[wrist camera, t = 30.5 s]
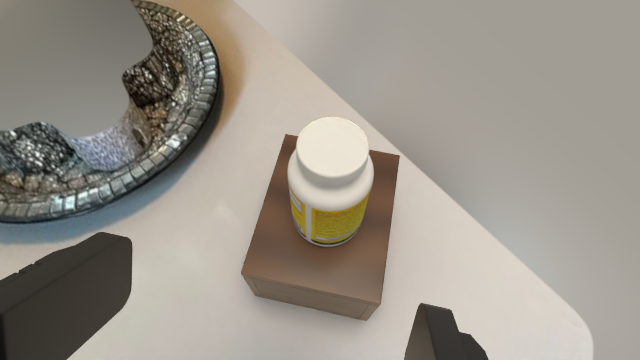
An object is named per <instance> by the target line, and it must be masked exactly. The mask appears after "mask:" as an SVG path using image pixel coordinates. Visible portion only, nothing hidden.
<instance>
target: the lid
mask: <svg viewBox="0 0 640 360" xmlns="http://www.w3.org/2000/svg"><path fill="white" fill-rule="evenodd" d="M297 139H298V136H293V135H288V134H286V135H285V138H284V141H283V144H282V147H281V150H280V153H279V156H278V159H277V162H276V166H275V169H274V172H273V175H272V178H271V181H270V184H269V187H268V190H267V194H266V197H265V200H264V203H263V206H262V209H261V212H260V215H259V218H258V222H257V225H256V228H255V231H254V234H253V237H252V240H251V243H250V246H249V250H248V253H247V256H246V259H245V262H244V265H243V268H242V271H241V274H242V276H246V277H251V278H255V279H260V280H264V281H268V282H273V283H277V284H282V285H286V286H291V287H295V288H300V289H304V290H309V291H313V292H318V293H322V294H327V295H331V296H336V297H340V298H345V299H349V300H354V301H358V302H363V303H367V304H371V305H376V306H379V305H380V304H381V297H382V289H383V281H384V273H385V266H386V258H387V250H388V242H389V234H390V227H391V219H392V211H393V203H394V195H395V188H396V180H397V172H398V164H399V155H394V154H389V153H384V152H378V151H373V150H369V156H370V158H371V160H372V163H373V168H374V177H373V183H372V187H371V191H370V194H369V198H368V201H367V205H366V208H365V212H364V216H363V219H362V222H361V225H360V227H359V229H358V231H357V232H356V234H355V235H354V236H353V237H352V238H351V239H350V240H348V241H347V242H345V243H343V244H340V245H337V246H333V247H323V246H318V245H315V244H313V243H310V242H309V241H307V240H306V239H305V238H303V237H302V236H301V234H300V233H299V232H298V230H297V229H296V227H295V224H294V221H293V216H292V209H291V201H290V192H289V184H288V175H287V170H288V163H289V160H290V157H291V155H292V154H293V152H294V150H295V149H296V143H297Z"/></svg>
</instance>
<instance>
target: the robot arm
mask: <svg viewBox="0 0 640 360" xmlns="http://www.w3.org/2000/svg"><path fill="white" fill-rule="evenodd" d="M131 285H132V242H131V240H130V239H129V238H127V237H123V236H119V235H114V234H110V233H105V232H99V233H97V234H95V235H93V236H91V237H89V238H88V239H86V240H84V241H82V242H80V243H79V244H77V245H74V246H71V247H68V248H65V249H61V250H58V251H55V252H52V253H50V254H49V255H47V256H45V257H43V258H41V259H39V260H38V261H36V262H35V263H34V264H30V265H28V266H26V267H25V268H23V269H21V270H19V272H18V273H13V274H12V275H10V276H8V277H6V278H4V279H2V280H0V360H67V359H68V358H69V357H70V356H71V355H72V354H73V353H74V352H75V351H76V350H78V349H79V348H80V347H81V346H82V345H83V344H84V343H85V342H86V341H87V340H89V339H90V338H91V337H92V336H93V335H94V334H95V333H96V332H97V331H98V330H99V329H101V328H102V327H103V326H104V325H105V324H106V323H107V322H108V321H109V320H110V319H111V318H113V317H114V316H115V315H116V314H117V313H118V312H119V311H120V310H121V309H122V308H123V307H124V305H125V304H126V302H127V300H128V298H129V295H130V292H131ZM404 360H488V358H487V355H486V353H485V351H484V350H483V349H482V347H481V346H480V345H479V344H478V343H477V342H476V341H475V339H474V338H473V337H472V336H471V335H470V334H466V333H461V332H459V330H458V327H457V325H456V322H455V319H454V316H453V313H452V311H451V310H450V309H446V308H442V307H437V306H433V305H428V304H424V303H421V304H420V305H419V307H418V309H417V312H416V316H415V320H414V323H413V327H412V330H411V334H410V338H409V341H408V345H407V348H406V352H405V357H404Z"/></svg>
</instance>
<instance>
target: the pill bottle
mask: <svg viewBox="0 0 640 360" xmlns="http://www.w3.org/2000/svg"><path fill="white" fill-rule="evenodd" d="M287 175H288V184H289V192H290V201H291V209H292V216H293V221H294V224H295V227H296V229H297V230H298V232H299V233H300V234H301V236H302V237H303V238H305V239H306V240H307V241H309V242H310V243H313V244H315V245H318V246H323V247H333V246H337V245H340V244H343V243H345V242H347V241H348V240H350V239H351V238H352V237H353V236H354V235H355V234H356V232H357V231H358V229H359V227H360V225H361V222H362V219H363V216H364V212H365V208H366V205H367V201H368V198H369V194H370V191H371V187H372V183H373V177H374V168H373V163H372V160H371V158H370V156H369V142H368V139H367V137H366V135H365V133H364V132H363V131H362V130H361V128H360V127H358V126H357V125H356V124H354V123H353V122H351V121H349V120H346V119H343V118H338V117H324V118H320V119H317V120H315V121H313V122H311V123H309V124H308V125H307V126H306V127H304V129H303V130H302V131H301V132H300V134H299V136H298V139H297V143H296V149H295V150H294V152H293V154H292V155H291V157H290V160H289V163H288V170H287Z"/></svg>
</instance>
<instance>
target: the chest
mask: <svg viewBox="0 0 640 360" xmlns="http://www.w3.org/2000/svg"><path fill="white" fill-rule="evenodd" d="M243 277H244V279H245V280H246V282H247V283H248V285H249V287H250V288H251V290H252V291H253V293H254V294H255V296H259V297H264V298H268V299H273V300H277V301H281V302H286V303H290V304H295V305H299V306H303V307H308V308H312V309H317V310H321V311H325V312H330V313H334V314H339V315H343V316H347V317H352V318H356V319H361V320H365V321H366V320H367V319H368V318H369V317H370V316H371V315H372V314H373V312H374V311H375V310H376V309H377V308H378V306H376V305H371V304H367V303H363V302H358V301H354V300H349V299H345V298H340V297H336V296H331V295H327V294H322V293H318V292H313V291H309V290H304V289H300V288H295V287H291V286H286V285H282V284H277V283H273V282H268V281H264V280H260V279H255V278H251V277H246V276H243Z"/></svg>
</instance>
